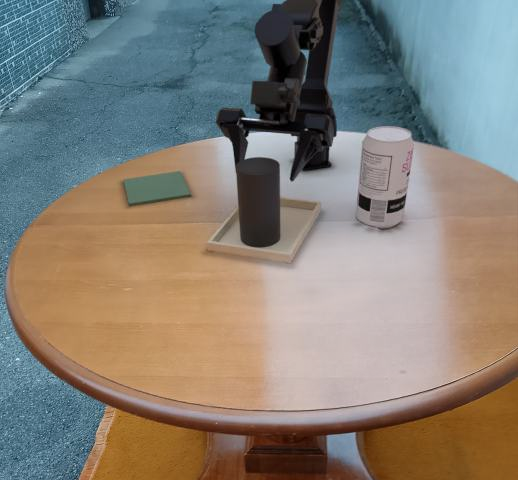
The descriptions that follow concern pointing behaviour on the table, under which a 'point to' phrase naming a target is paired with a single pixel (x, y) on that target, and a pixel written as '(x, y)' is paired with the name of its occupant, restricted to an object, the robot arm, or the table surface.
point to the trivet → (156, 188)
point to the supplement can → (384, 176)
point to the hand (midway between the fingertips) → (264, 177)
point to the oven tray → (291, 232)
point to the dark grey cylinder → (259, 201)
